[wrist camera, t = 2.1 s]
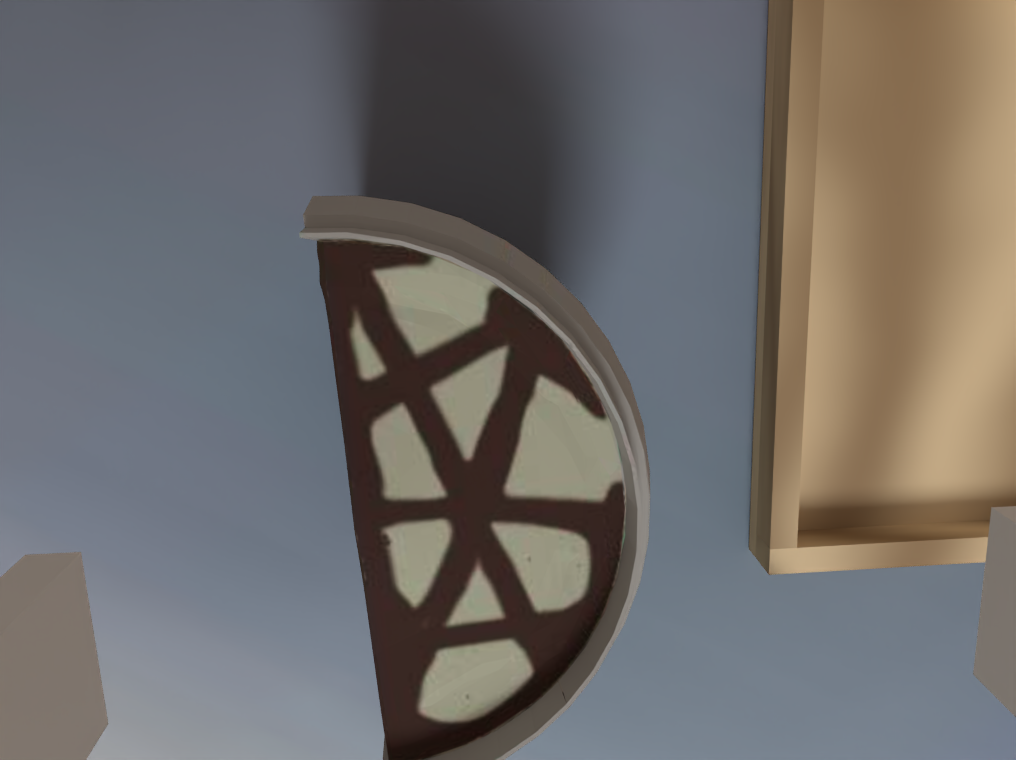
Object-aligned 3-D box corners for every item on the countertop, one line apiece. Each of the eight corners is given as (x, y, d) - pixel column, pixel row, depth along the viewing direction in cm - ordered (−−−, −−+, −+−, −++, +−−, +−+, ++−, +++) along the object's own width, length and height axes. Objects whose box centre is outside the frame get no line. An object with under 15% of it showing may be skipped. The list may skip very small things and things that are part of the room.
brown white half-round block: (603, 570, 28) (685, 789, 18) (406, 592, 28) (383, 825, 18) (576, 165, 25) (658, 167, 15) (355, 185, 25) (294, 200, 15)
